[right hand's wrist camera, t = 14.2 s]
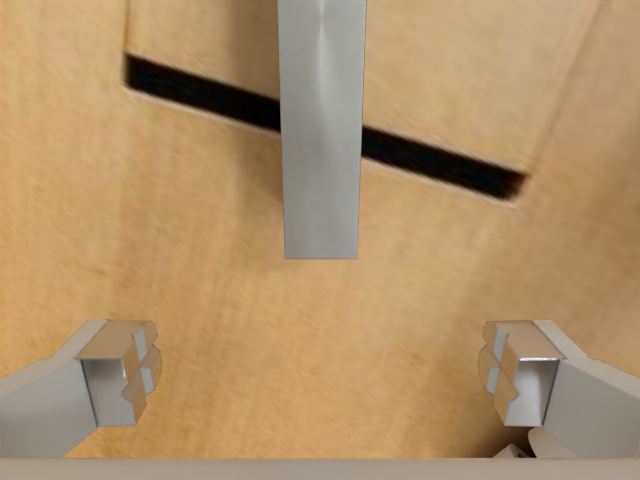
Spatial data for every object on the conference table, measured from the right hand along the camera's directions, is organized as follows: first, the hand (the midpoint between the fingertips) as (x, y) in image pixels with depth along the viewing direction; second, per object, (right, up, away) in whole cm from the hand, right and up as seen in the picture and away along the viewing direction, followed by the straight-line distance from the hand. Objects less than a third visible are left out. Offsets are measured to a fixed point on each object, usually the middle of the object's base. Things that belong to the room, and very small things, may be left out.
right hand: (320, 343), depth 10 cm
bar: (0, +17, +19) cm, 26 cm away
